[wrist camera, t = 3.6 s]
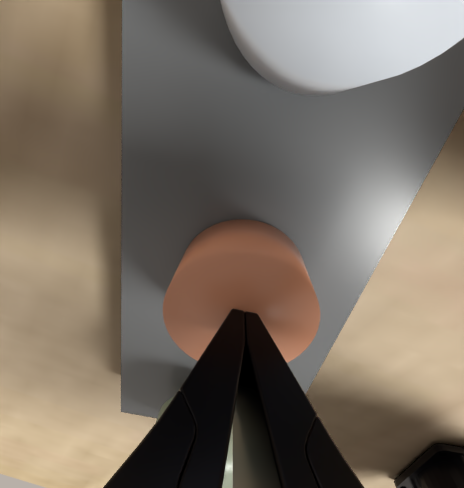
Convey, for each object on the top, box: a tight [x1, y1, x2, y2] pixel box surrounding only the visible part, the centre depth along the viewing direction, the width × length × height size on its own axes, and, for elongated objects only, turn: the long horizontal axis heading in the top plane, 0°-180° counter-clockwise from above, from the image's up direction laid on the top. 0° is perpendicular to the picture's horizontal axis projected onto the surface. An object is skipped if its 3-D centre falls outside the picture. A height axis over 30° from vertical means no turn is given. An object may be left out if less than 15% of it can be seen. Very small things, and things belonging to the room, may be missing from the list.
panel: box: [121, 0, 464, 418], centre depth 11 cm, size 23×10×2 cm, turn 168°
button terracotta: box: [163, 219, 320, 363], centre depth 9 cm, size 5×5×2 cm
